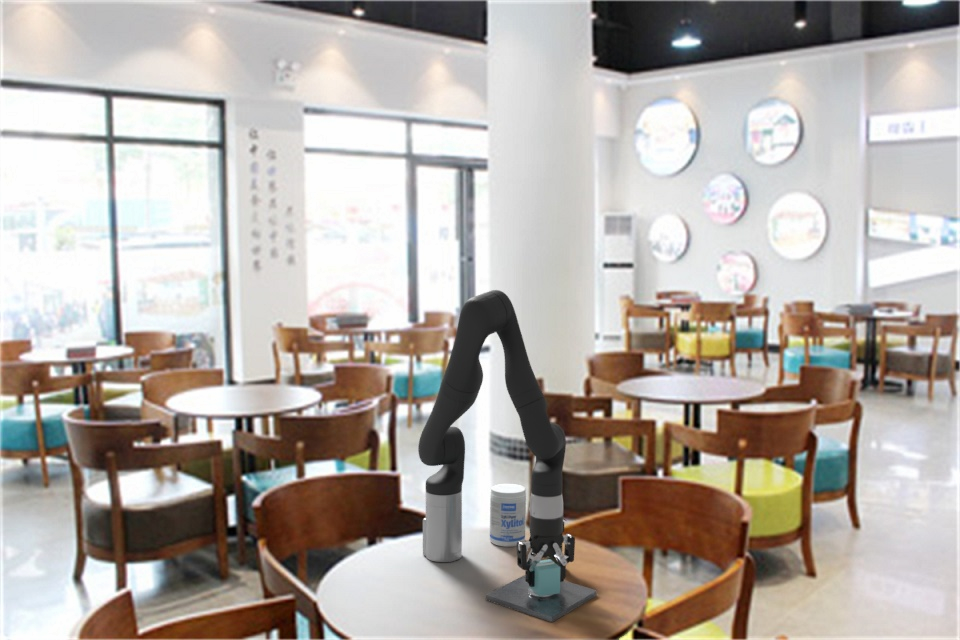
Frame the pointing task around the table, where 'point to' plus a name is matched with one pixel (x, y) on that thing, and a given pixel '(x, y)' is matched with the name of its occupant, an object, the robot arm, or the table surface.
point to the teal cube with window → (546, 578)
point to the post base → (541, 599)
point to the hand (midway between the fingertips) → (545, 583)
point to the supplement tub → (507, 514)
